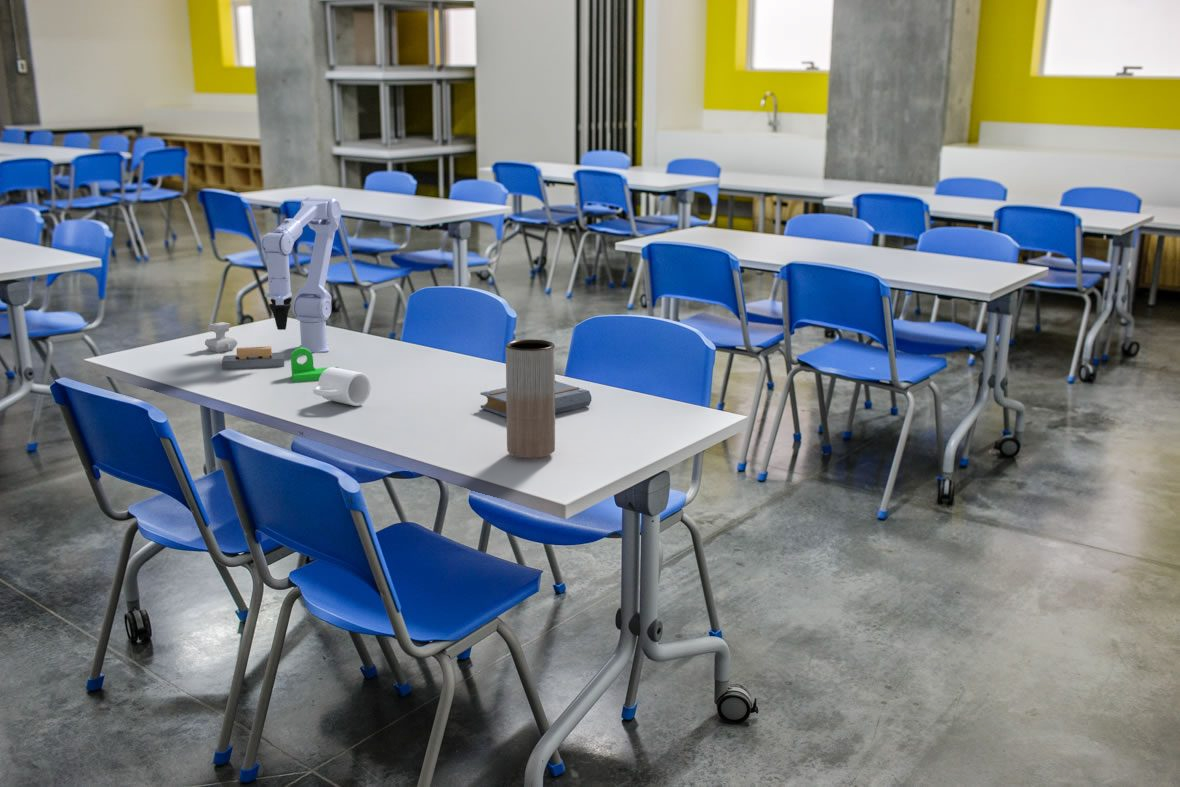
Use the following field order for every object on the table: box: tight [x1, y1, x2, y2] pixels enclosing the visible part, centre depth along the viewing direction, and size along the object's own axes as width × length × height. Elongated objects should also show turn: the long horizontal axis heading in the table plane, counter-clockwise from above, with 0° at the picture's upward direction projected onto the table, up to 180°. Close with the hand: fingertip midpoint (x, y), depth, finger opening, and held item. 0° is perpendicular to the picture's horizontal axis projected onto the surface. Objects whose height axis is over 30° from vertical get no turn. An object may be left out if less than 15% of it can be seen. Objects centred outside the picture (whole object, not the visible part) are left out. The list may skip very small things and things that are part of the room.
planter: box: [505, 339, 556, 459], centre depth 228 cm, size 10×10×23 cm
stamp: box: [204, 321, 238, 353], centre depth 318 cm, size 9×7×8 cm
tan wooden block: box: [236, 345, 273, 359], centre depth 302 cm, size 3×9×5 cm, turn 104°
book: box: [479, 380, 593, 418], centre depth 264 cm, size 21×16×5 cm
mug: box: [312, 366, 372, 407], centre depth 265 cm, size 12×10×8 cm
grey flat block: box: [221, 352, 286, 371], centre depth 303 cm, size 7×16×2 cm, turn 103°
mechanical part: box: [290, 346, 339, 383], centre depth 290 cm, size 12×6×8 cm, turn 110°
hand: (282, 326), depth 303 cm, fingers open, 7 cm apart
